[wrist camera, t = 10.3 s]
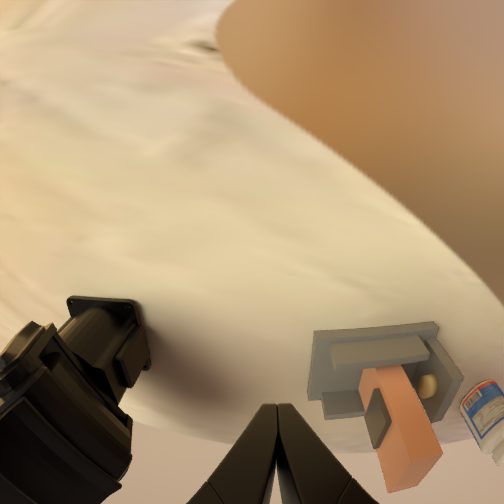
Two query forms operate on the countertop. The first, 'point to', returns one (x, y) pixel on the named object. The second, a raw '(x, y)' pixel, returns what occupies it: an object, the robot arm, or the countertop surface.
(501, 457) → the pill bottle
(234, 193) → the countertop surface
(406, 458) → the orange tall block
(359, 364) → the switch base
